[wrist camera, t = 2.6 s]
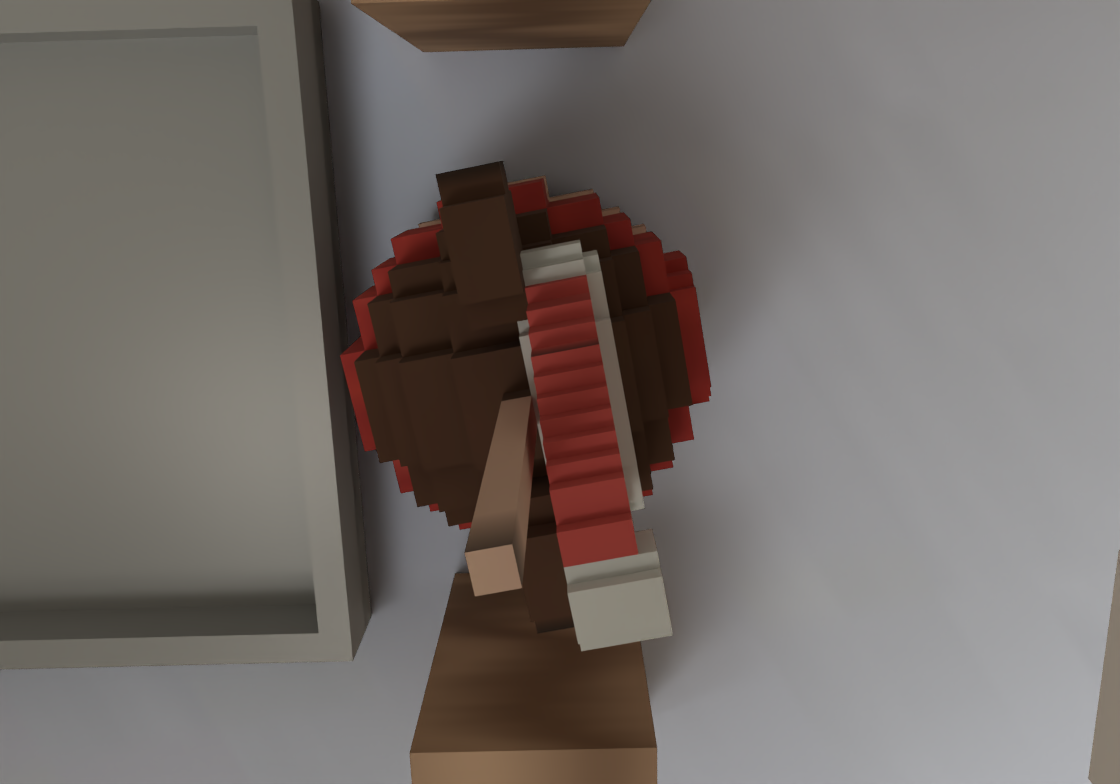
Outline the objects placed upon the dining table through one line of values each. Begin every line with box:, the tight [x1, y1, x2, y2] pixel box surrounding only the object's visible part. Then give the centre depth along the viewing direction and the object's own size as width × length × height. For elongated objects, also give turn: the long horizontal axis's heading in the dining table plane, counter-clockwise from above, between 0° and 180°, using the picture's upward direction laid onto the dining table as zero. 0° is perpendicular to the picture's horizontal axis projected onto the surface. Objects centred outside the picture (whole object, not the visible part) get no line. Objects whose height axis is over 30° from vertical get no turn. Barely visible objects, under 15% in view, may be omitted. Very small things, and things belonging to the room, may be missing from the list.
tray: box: [0, 0, 371, 669], centre depth 29 cm, size 20×20×3 cm
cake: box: [340, 161, 711, 651], centre depth 22 cm, size 11×9×18 cm
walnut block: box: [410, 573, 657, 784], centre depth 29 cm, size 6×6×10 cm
